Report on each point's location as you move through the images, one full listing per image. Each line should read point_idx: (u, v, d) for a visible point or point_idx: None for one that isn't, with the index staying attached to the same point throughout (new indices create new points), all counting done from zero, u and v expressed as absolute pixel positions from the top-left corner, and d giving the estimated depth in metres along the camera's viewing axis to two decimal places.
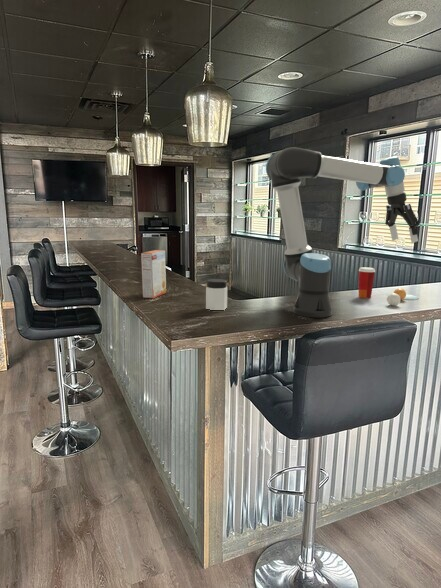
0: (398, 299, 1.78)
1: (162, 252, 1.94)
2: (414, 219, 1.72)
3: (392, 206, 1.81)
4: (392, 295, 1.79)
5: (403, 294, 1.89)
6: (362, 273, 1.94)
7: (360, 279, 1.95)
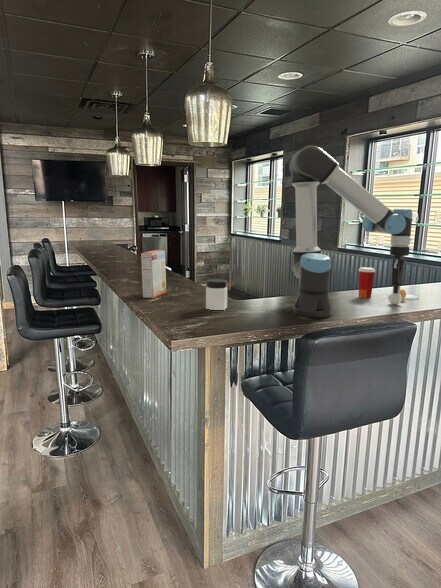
0: (400, 296, 1.81)
1: (162, 252, 1.94)
2: (395, 279, 1.74)
3: None
4: None
5: (403, 294, 1.89)
6: (362, 273, 1.94)
7: (360, 279, 1.95)
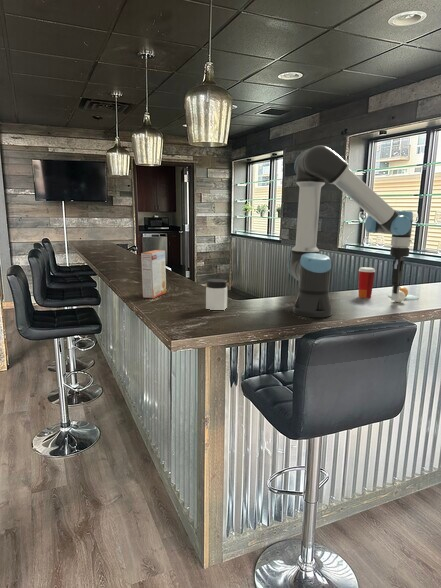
0: None
1: (162, 252, 1.94)
2: (395, 279, 1.78)
3: None
4: None
5: None
6: (362, 273, 1.94)
7: (360, 279, 1.95)
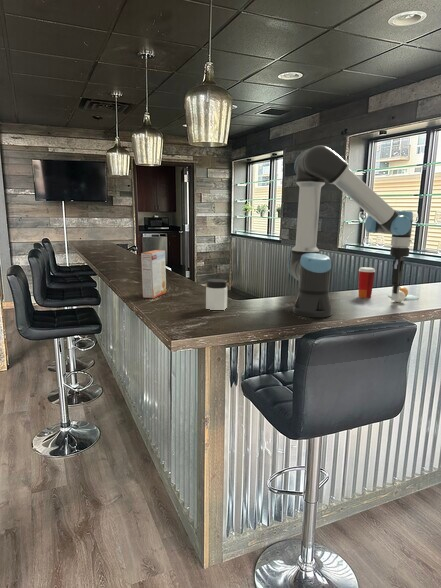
0: None
1: (162, 252, 1.94)
2: (395, 279, 1.78)
3: None
4: None
5: None
6: (362, 273, 1.94)
7: (360, 279, 1.95)
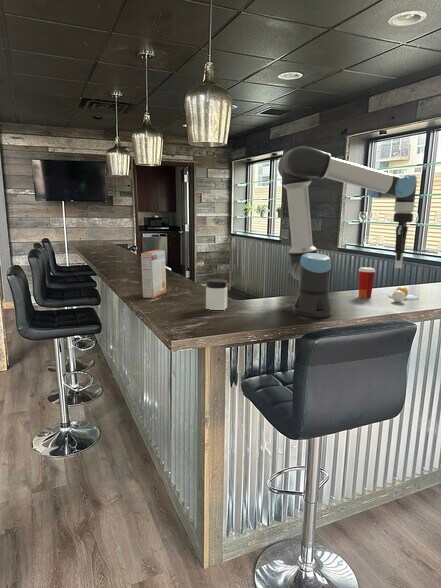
0: None
1: (162, 252, 1.94)
2: (399, 245, 1.75)
3: None
4: None
5: None
6: (362, 273, 1.94)
7: (360, 279, 1.95)
